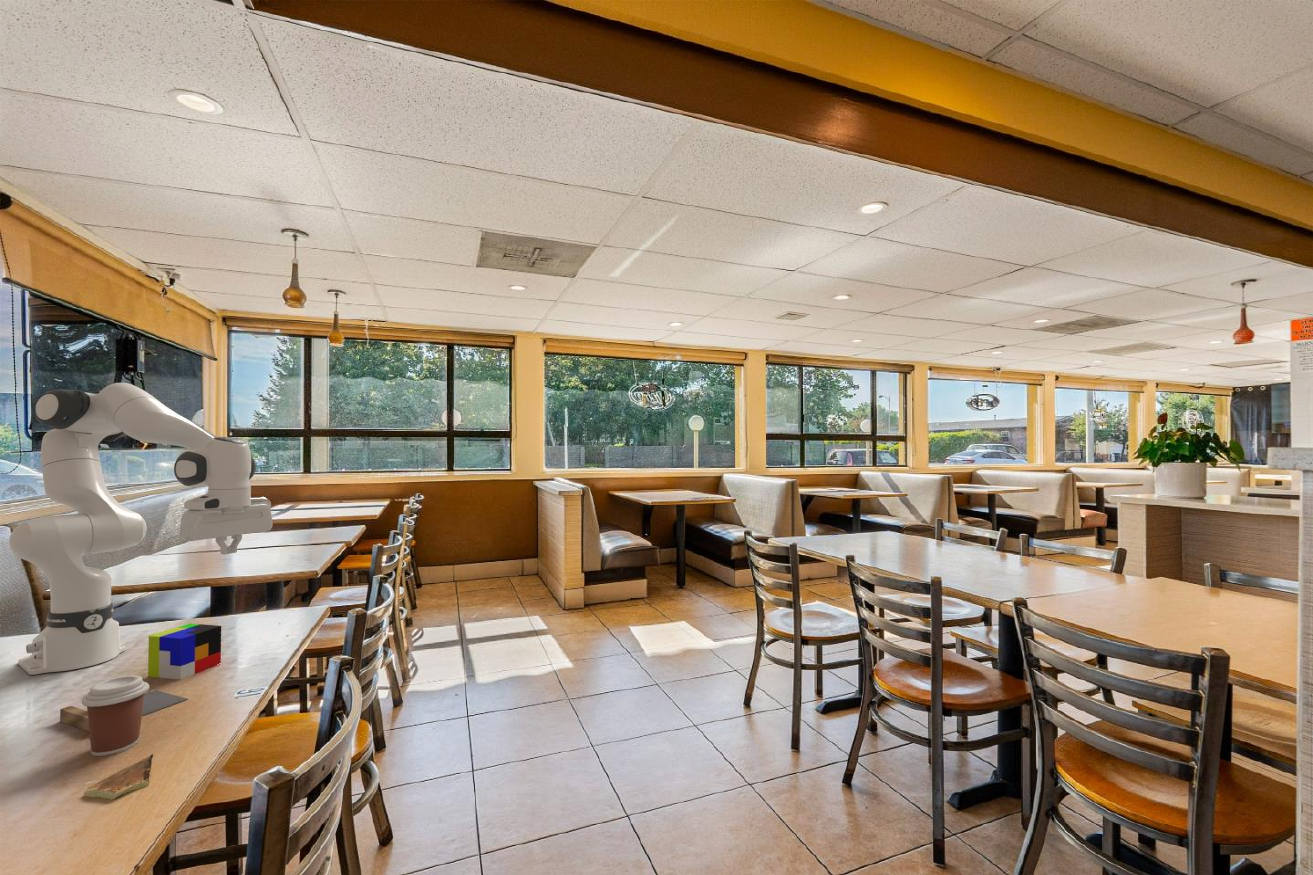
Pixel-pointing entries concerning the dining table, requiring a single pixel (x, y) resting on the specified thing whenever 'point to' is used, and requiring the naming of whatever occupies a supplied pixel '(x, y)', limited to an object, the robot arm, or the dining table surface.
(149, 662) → the puzzle toy
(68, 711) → the brown long bar
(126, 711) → the coffee cup
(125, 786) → the shard
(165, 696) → the mark
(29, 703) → the dining table surface
